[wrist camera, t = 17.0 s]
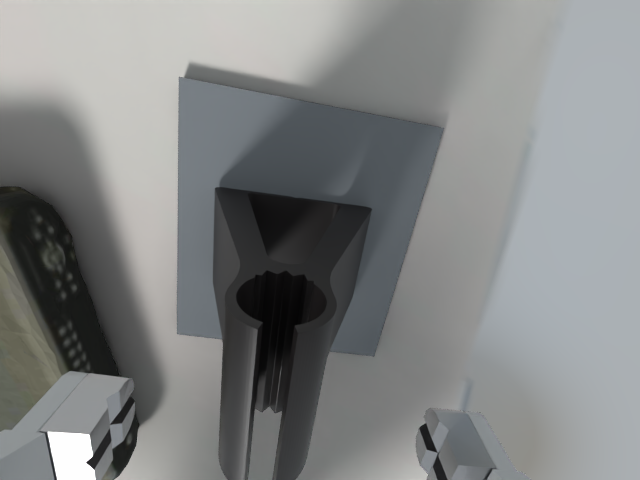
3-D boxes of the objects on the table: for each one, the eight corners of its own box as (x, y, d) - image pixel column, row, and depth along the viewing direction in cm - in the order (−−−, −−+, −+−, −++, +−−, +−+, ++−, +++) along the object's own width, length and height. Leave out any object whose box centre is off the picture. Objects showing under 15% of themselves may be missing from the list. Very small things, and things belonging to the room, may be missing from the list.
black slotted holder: (371, 207, 19) (465, 349, 8) (352, 293, 21) (402, 500, 10) (216, 185, 18) (69, 308, 7) (213, 277, 20) (99, 484, 9)
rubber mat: (372, 350, 24) (374, 356, 23) (180, 328, 22) (177, 334, 22) (439, 127, 18) (443, 127, 17) (183, 78, 16) (178, 76, 16)
